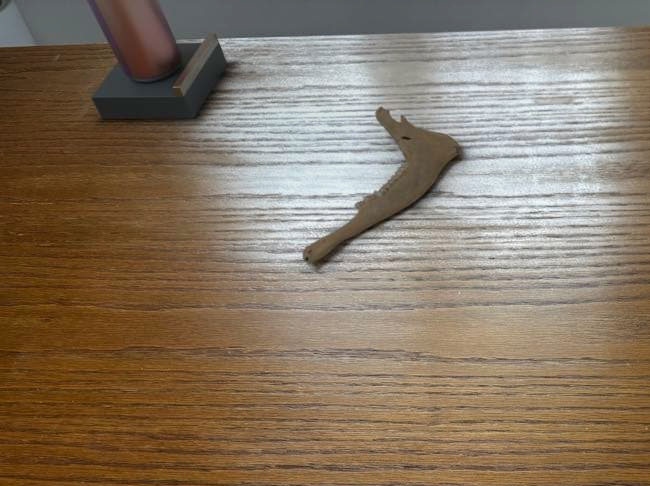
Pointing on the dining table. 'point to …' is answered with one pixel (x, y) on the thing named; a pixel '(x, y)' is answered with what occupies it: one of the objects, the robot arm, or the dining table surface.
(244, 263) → the dining table surface
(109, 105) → the grey ledged base
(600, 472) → the dining table surface
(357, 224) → the jawbone
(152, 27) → the beverage can
